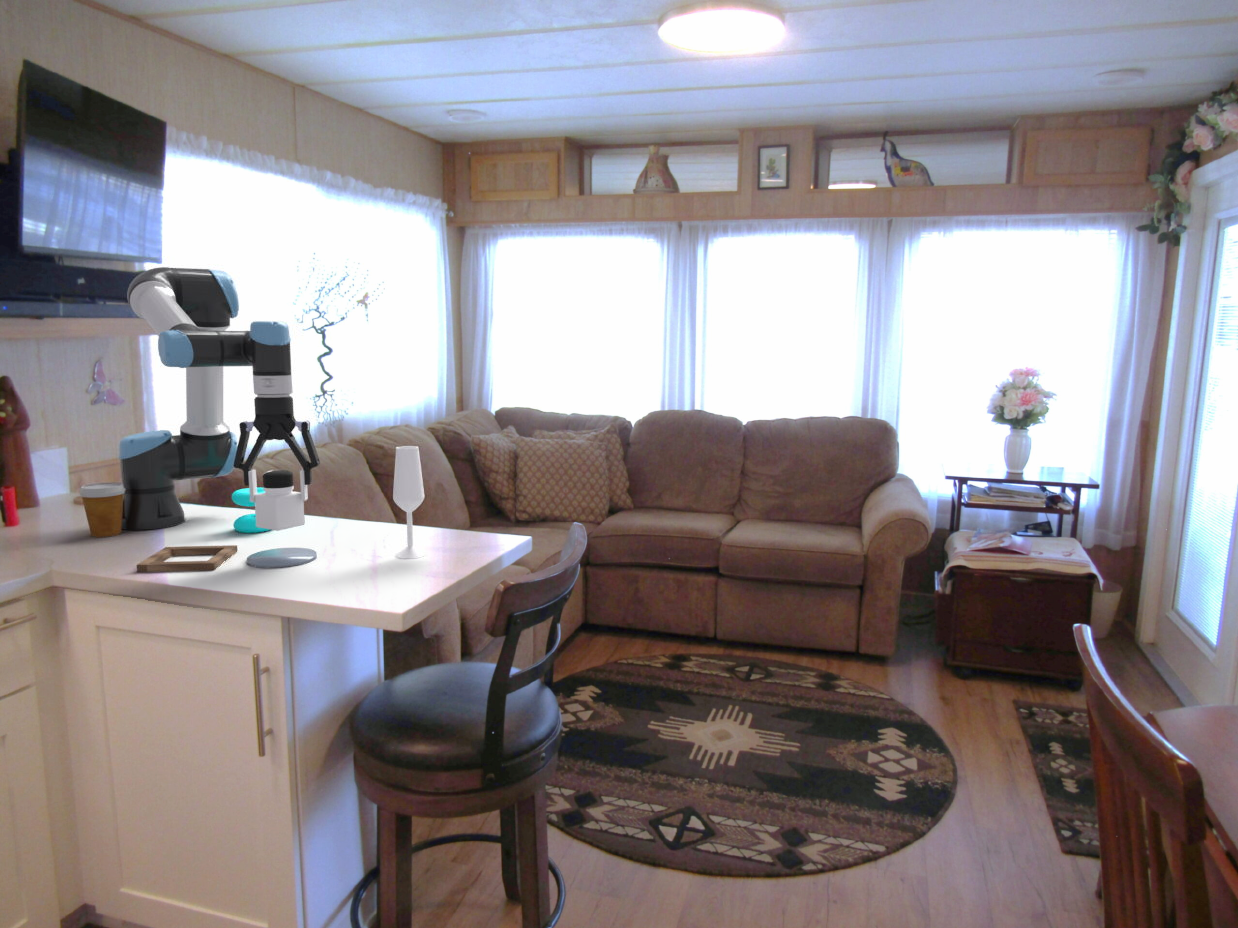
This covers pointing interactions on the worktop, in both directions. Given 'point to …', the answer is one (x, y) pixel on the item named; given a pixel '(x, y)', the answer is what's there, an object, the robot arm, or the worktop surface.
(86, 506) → the disposable coffee cup
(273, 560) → the slate plate
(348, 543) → the worktop surface
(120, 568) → the worktop surface
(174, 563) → the wooden picture frame
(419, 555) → the champagne flute
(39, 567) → the worktop surface
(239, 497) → the donuts
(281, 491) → the medicine bottle
